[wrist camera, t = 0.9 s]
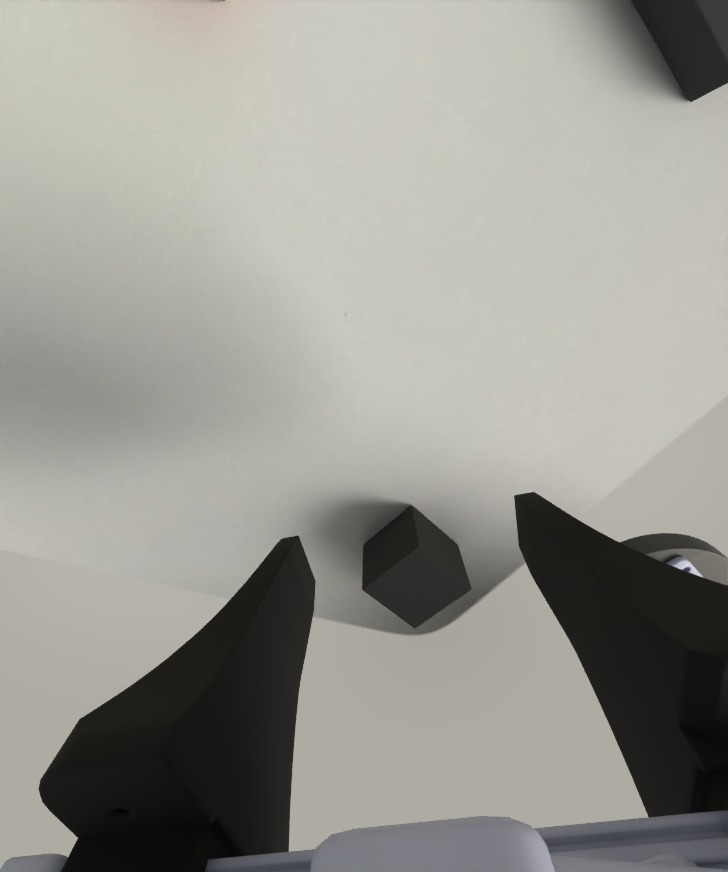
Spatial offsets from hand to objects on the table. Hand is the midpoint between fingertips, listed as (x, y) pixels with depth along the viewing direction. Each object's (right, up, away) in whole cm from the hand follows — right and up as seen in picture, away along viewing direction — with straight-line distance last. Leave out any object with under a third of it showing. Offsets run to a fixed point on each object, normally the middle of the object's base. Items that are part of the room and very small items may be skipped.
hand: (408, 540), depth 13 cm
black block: (+1, -3, +10) cm, 11 cm away
